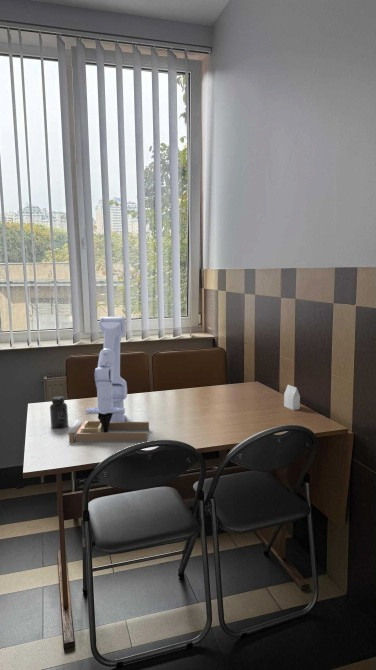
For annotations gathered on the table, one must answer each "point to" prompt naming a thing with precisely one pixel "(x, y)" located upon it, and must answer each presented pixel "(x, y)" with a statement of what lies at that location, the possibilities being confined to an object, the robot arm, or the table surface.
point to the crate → (92, 427)
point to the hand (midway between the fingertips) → (106, 432)
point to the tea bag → (291, 398)
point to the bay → (111, 433)
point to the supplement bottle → (58, 412)
